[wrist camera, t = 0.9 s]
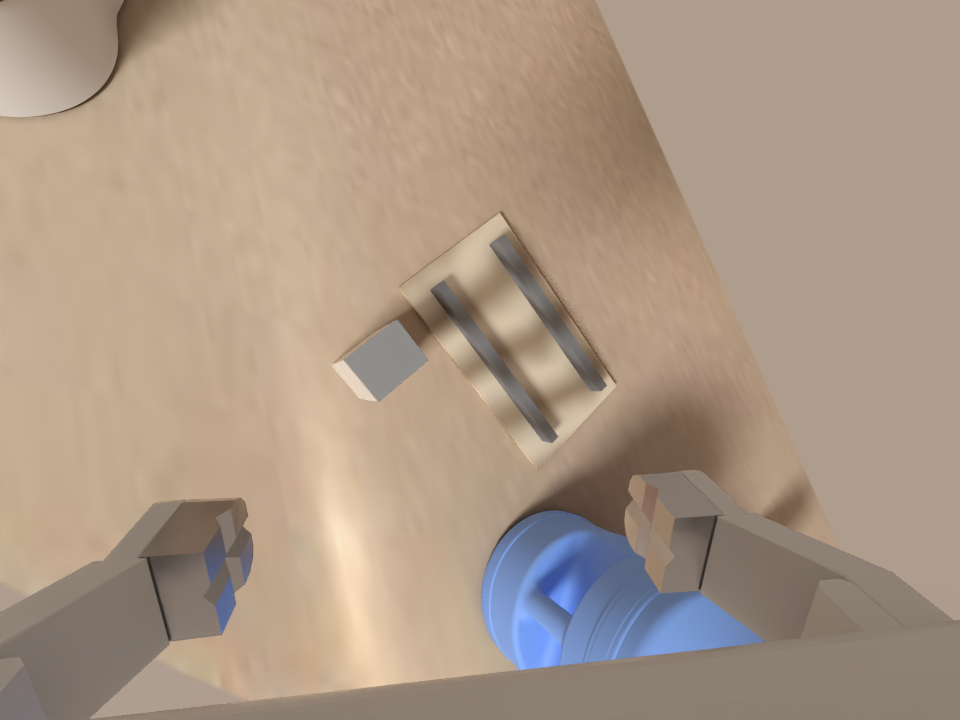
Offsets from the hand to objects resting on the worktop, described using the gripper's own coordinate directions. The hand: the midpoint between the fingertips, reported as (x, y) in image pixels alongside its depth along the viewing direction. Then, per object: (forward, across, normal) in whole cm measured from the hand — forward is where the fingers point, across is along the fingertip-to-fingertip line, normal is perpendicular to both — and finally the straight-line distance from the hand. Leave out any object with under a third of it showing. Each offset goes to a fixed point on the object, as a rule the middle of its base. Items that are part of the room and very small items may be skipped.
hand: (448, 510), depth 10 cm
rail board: (+38, -10, +8) cm, 40 cm away
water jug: (+29, -12, +32) cm, 45 cm away
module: (+33, +6, +8) cm, 34 cm away
